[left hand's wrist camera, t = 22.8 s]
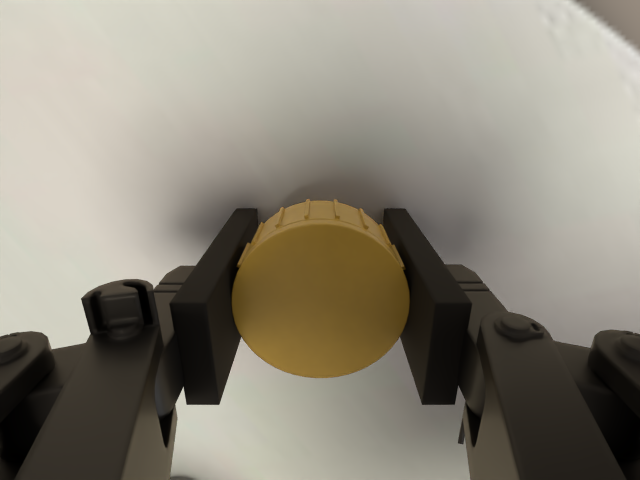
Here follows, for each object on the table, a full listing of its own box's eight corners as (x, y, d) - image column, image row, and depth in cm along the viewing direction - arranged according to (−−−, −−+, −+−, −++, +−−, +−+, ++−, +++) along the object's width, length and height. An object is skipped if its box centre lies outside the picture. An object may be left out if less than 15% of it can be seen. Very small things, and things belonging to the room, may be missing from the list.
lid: (327, 162, 11) (329, 179, 9) (428, 277, 12) (450, 314, 10) (211, 265, 12) (189, 301, 10) (315, 359, 13) (314, 407, 11)
